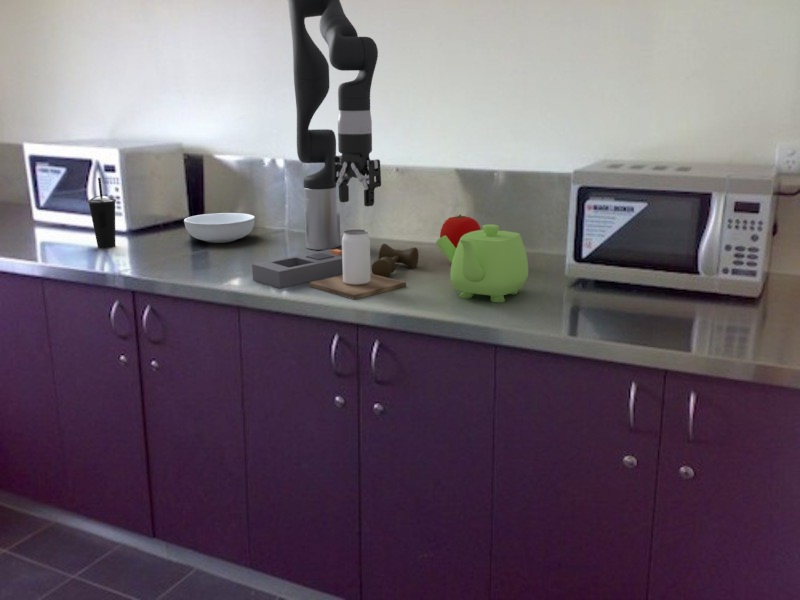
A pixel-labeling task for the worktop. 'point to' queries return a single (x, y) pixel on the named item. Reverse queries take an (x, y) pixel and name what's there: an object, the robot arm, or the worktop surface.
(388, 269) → the kendama
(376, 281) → the walnut board
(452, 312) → the worktop surface
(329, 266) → the grey block with hole
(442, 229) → the tomato
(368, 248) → the can
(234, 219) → the serving bowl
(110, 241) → the drinking cup
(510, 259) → the teapot
